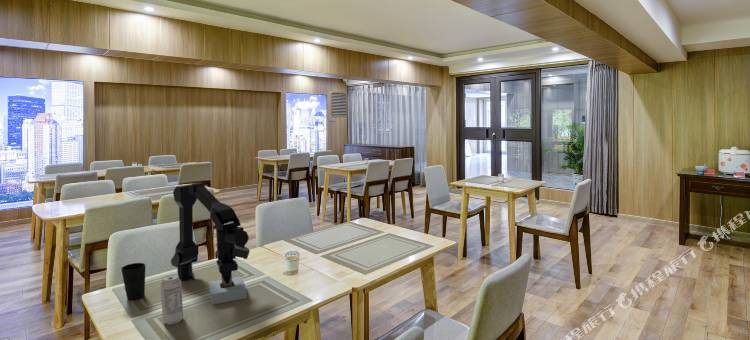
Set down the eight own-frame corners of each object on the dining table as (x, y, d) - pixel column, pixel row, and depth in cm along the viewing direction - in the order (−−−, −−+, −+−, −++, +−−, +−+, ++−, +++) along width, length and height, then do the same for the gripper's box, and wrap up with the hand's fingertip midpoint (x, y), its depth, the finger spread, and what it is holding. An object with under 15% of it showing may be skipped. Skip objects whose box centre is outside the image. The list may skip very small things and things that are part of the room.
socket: (209, 291, 155) (208, 281, 154) (241, 286, 160) (241, 276, 160) (212, 304, 144) (211, 294, 144) (246, 298, 149) (246, 287, 149)
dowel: (221, 287, 153) (220, 266, 152) (231, 285, 154) (230, 265, 153) (222, 290, 149) (221, 270, 148) (232, 288, 151) (231, 268, 150)
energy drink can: (183, 314, 137) (180, 272, 135) (184, 322, 132) (181, 279, 130) (163, 319, 134) (159, 276, 132) (163, 327, 129) (160, 282, 127)
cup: (120, 303, 145) (118, 271, 144) (127, 294, 153) (125, 263, 151) (144, 300, 148) (142, 269, 146) (150, 291, 155) (147, 261, 153)
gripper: (251, 245, 145) (253, 287, 147) (243, 232, 161) (245, 269, 163) (218, 250, 140) (220, 292, 142) (213, 235, 156) (215, 274, 158)
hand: (226, 281), depth 151 cm, fingers closed on dowel, 4 cm apart
